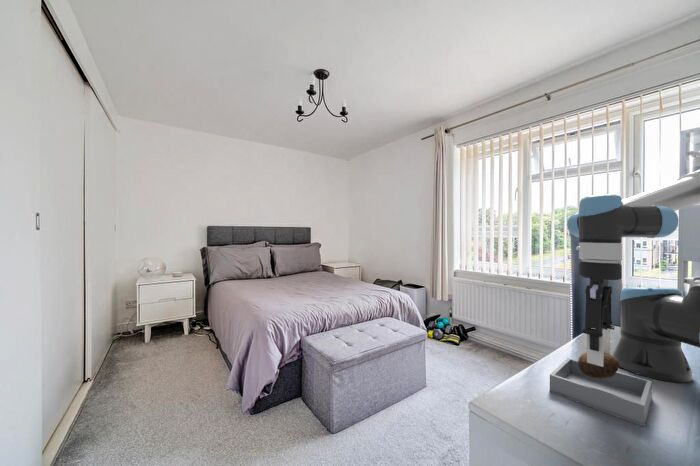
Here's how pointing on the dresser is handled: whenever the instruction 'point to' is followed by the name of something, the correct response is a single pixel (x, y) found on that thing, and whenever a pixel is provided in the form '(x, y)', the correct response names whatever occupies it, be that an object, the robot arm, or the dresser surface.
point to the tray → (604, 391)
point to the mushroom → (599, 367)
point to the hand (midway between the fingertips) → (598, 359)
